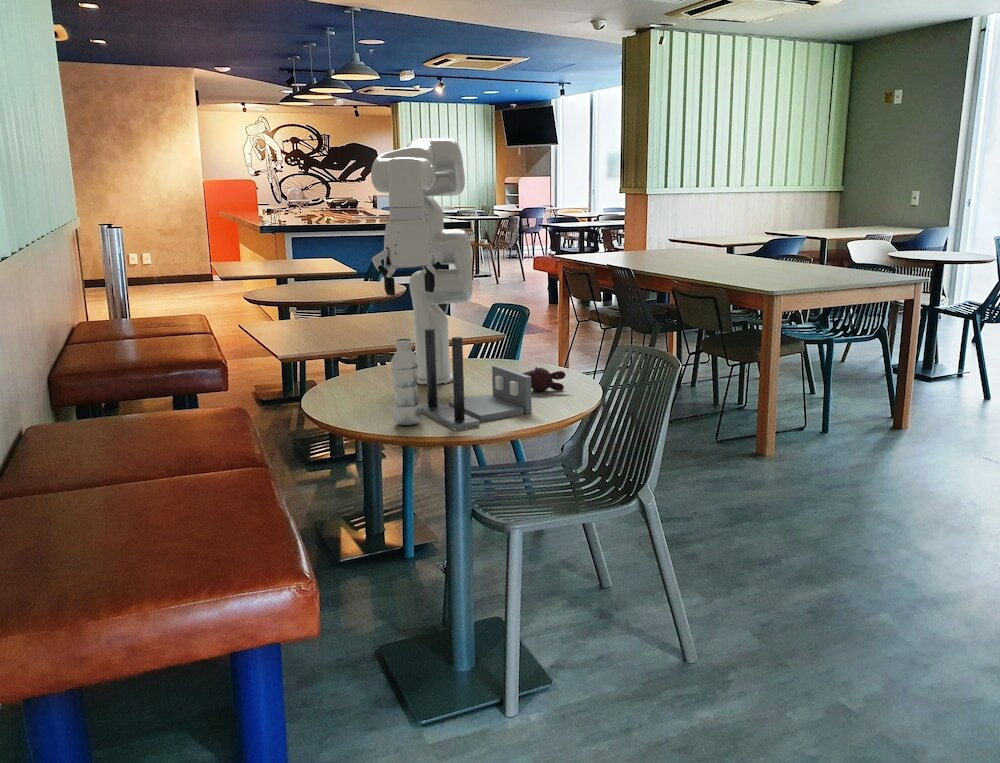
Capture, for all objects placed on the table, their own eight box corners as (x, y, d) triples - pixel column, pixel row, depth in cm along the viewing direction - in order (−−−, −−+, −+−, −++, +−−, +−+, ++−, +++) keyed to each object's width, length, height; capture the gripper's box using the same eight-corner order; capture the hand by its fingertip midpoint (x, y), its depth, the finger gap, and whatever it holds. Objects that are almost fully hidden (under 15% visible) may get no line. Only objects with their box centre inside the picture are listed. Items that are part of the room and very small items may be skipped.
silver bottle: (425, 420, 189) (422, 337, 184) (416, 429, 182) (412, 343, 178) (399, 419, 190) (395, 336, 186) (389, 427, 184) (385, 342, 179)
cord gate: (415, 409, 199) (411, 328, 194) (436, 406, 202) (433, 326, 197) (456, 431, 181) (453, 342, 176) (479, 426, 184) (477, 339, 179)
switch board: (449, 407, 200) (447, 372, 198) (497, 399, 207) (497, 365, 205) (480, 421, 187) (479, 384, 185) (531, 412, 194) (531, 376, 192)
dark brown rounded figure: (509, 372, 209) (566, 376, 209) (510, 359, 216) (565, 363, 216) (507, 395, 212) (564, 399, 212) (508, 382, 219) (562, 386, 219)
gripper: (433, 214, 183) (436, 289, 187) (363, 216, 174) (367, 295, 178) (449, 214, 177) (452, 291, 181) (377, 217, 168) (381, 298, 172)
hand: (410, 293), depth 179 cm, fingers open, 9 cm apart
